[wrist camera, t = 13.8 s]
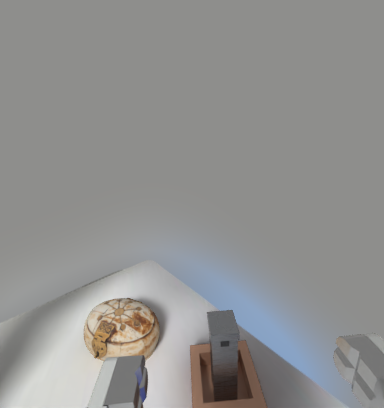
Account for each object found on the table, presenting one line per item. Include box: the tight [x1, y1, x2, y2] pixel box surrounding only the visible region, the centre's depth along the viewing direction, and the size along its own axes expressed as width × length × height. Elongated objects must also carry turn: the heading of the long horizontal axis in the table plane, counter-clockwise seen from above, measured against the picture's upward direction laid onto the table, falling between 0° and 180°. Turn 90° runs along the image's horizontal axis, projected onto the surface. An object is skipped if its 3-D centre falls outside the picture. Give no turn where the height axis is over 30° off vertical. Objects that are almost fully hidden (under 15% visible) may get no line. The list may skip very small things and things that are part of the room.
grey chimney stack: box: [207, 310, 239, 401], centre depth 30 cm, size 4×4×13 cm
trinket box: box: [84, 298, 160, 361], centre depth 41 cm, size 13×15×8 cm
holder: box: [190, 340, 267, 408], centre depth 32 cm, size 10×10×4 cm
